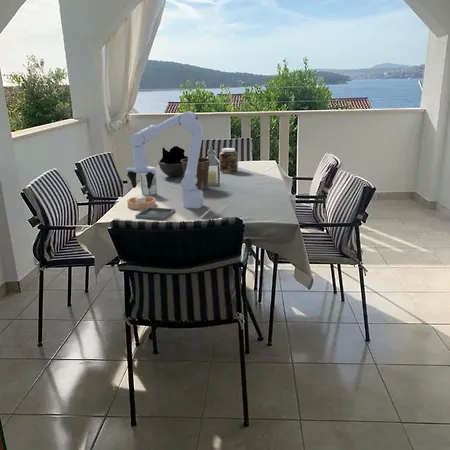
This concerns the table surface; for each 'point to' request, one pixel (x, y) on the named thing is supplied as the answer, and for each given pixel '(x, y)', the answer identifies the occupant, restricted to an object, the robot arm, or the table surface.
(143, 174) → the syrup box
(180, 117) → the robot arm
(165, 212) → the tray
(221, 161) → the jar
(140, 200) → the cream cup
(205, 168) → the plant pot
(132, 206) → the bowl
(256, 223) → the table surface
